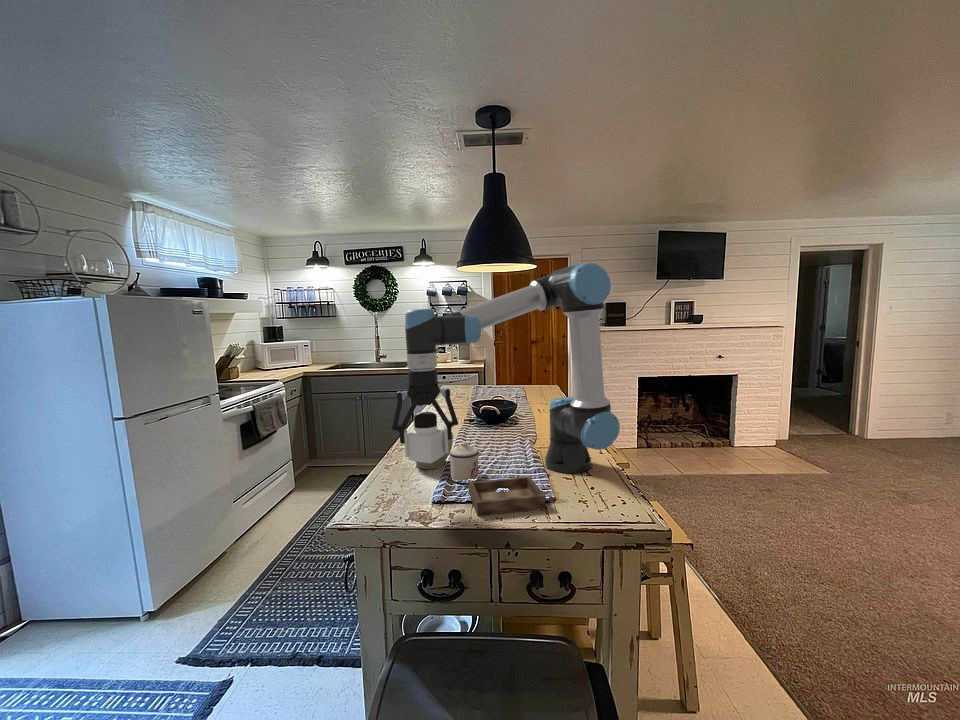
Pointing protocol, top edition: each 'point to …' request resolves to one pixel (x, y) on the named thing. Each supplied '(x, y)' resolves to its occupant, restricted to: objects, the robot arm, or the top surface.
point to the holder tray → (506, 496)
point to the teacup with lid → (464, 462)
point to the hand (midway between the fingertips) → (426, 453)
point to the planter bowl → (438, 462)
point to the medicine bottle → (425, 439)
